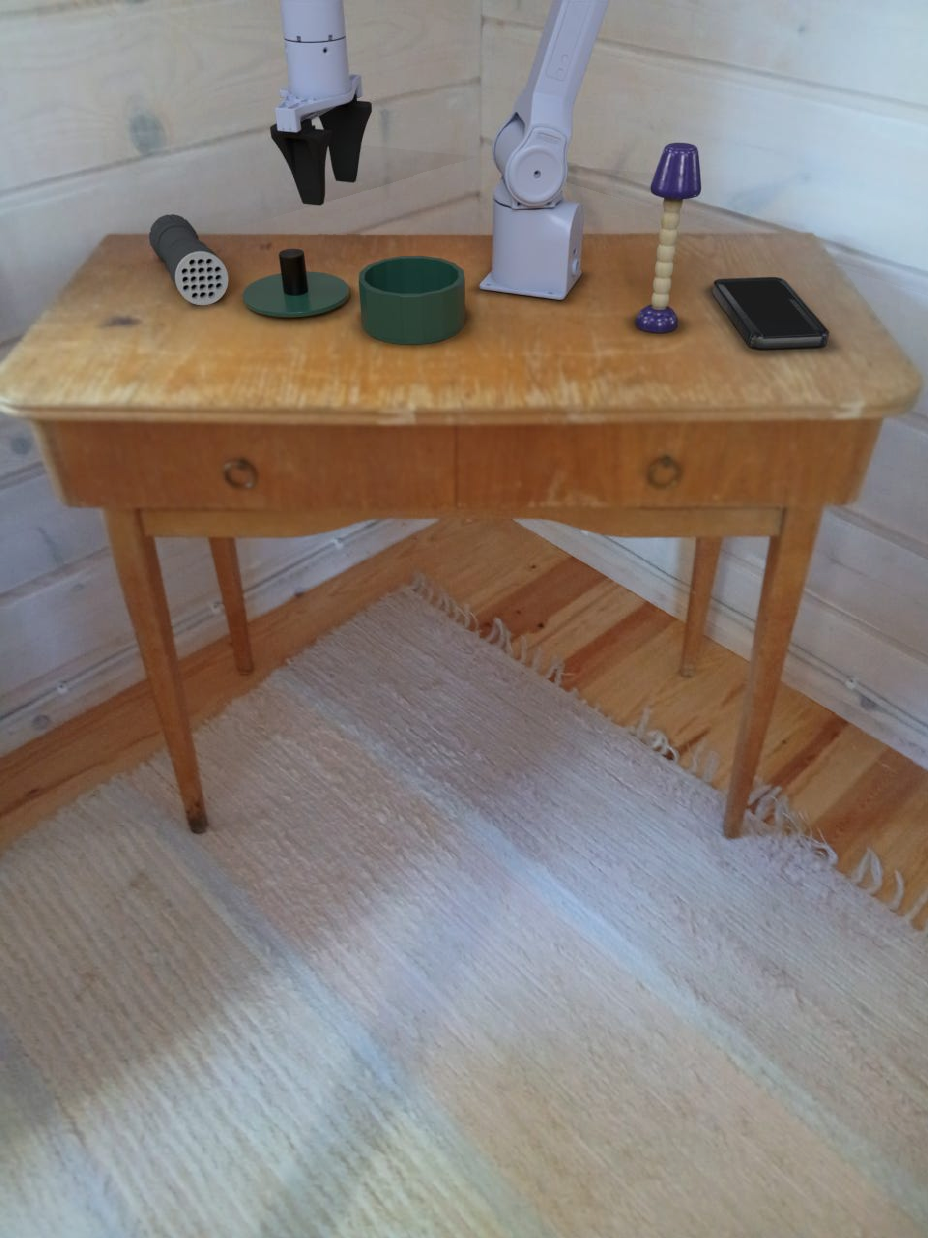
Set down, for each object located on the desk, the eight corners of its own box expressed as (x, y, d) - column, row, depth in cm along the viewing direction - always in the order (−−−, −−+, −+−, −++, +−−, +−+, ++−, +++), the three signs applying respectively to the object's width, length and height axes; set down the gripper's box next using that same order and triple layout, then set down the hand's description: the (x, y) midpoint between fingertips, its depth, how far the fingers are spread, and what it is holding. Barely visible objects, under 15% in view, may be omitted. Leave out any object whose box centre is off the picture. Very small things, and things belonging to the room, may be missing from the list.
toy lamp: (629, 314, 98) (649, 139, 87) (673, 312, 99) (699, 137, 88) (640, 334, 95) (663, 154, 84) (686, 332, 95) (714, 152, 84)
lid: (367, 288, 104) (363, 240, 101) (321, 329, 96) (315, 279, 93) (275, 275, 107) (269, 228, 103) (224, 314, 99) (215, 265, 96)
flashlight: (151, 261, 110) (140, 212, 107) (197, 253, 112) (188, 205, 109) (181, 309, 100) (171, 257, 96) (232, 300, 102) (223, 248, 98)
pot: (478, 309, 99) (478, 262, 96) (443, 351, 92) (442, 301, 89) (387, 296, 102) (384, 250, 99) (345, 335, 95) (341, 287, 92)
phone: (753, 339, 91) (711, 278, 102) (751, 350, 92) (709, 288, 103) (834, 335, 91) (783, 276, 103) (831, 346, 92) (781, 286, 103)
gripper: (311, 20, 94) (325, 167, 103) (236, 49, 84) (260, 210, 92) (377, 24, 92) (385, 173, 101) (309, 54, 82) (325, 217, 91)
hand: (330, 191), depth 97 cm, fingers open, 7 cm apart
